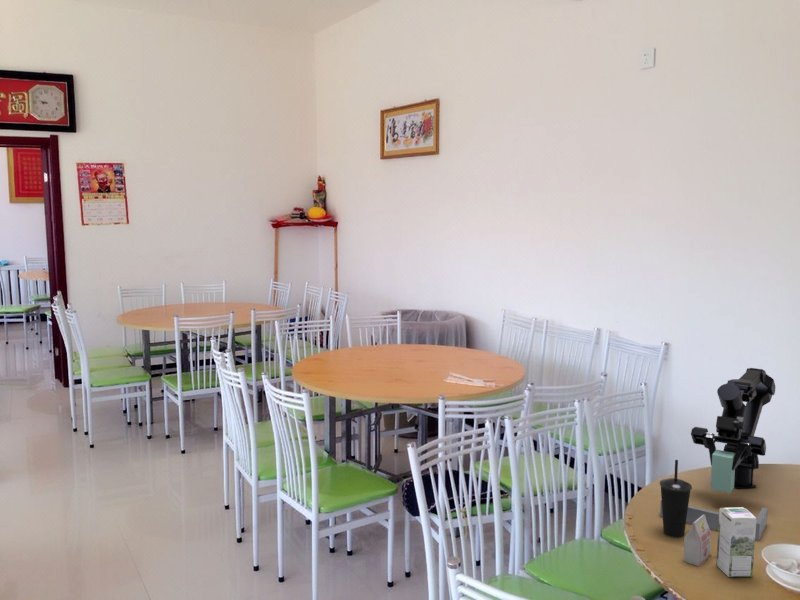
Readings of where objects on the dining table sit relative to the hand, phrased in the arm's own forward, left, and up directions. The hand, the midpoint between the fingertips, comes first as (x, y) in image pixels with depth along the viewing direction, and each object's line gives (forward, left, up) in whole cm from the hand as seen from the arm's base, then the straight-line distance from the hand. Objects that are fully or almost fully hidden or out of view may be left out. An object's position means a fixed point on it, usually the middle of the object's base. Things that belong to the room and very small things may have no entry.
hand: (722, 467), depth 186 cm
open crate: (+7, +7, -12) cm, 16 cm away
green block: (-1, -1, -6) cm, 7 cm away
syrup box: (+17, +31, -13) cm, 37 cm away
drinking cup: (+21, +12, -13) cm, 27 cm away
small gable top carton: (+22, +24, -13) cm, 35 cm away
